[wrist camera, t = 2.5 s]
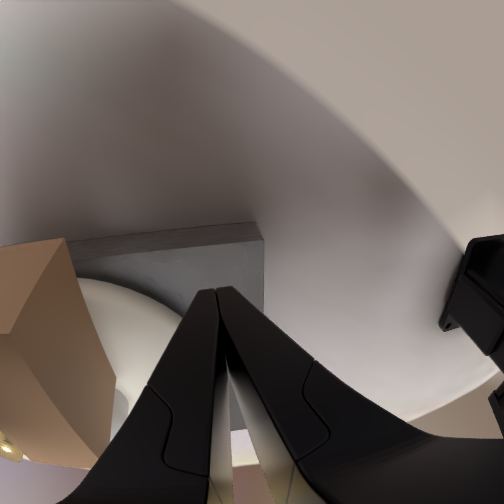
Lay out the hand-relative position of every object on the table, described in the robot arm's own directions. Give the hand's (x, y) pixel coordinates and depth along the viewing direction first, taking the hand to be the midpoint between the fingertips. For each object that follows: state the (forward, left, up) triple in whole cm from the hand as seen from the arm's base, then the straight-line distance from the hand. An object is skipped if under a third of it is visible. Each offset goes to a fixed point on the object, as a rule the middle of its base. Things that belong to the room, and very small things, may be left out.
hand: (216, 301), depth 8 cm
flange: (+6, +5, -3) cm, 8 cm away
